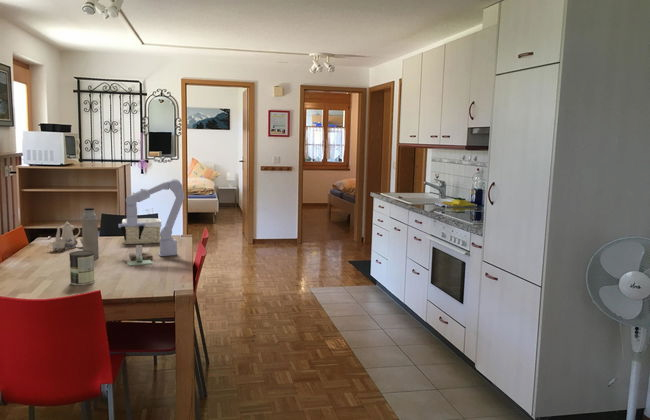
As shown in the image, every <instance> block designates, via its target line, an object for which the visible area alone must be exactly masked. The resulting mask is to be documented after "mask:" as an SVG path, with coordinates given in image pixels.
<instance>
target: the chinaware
mask: <svg viewBox="0 0 650 420" xmlns="http://www.w3.org/2000/svg"><path fill="white" fill-rule="evenodd" d="M55 228H56V229H57V230H56V234H55V240H54V241H51V242H49V244H48V245H47V249H48V250H50V251H51V250H52V251H55V252H57V251H59V252H62V251H61V250H63V248H65V250H66V249H67V250H69V248H70V249H75V248H76V246H77V245H78V240H77V239H79V240H80V243H81V245H82V246H83V241H82V238H81V237H80V238H79V235H80V234H81V228H80V227H79V226H77V225H73V224H71V223H69V221H67V220H66V222H65V223H64V224H62V225H61V229H60V227H59V226H56V227H55ZM75 228H78V233H77V234H75V235H74V233H73V230H75ZM61 230H62V234H61ZM49 246H51V248H49Z"/></svg>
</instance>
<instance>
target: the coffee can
mask: <svg viewBox="0 0 650 420" xmlns="http://www.w3.org/2000/svg"><path fill="white" fill-rule="evenodd" d="M68 255H69V270H70V271H69V272H70V273H69V275H70V276H69V278H70V284H71V285H73V286H86V285H91V284H94V283H95V261H94V260H95V259H94V252H93V251H87V250H84V251H83V250H75V251H72V252H71V251H70V253H69V254H68Z"/></svg>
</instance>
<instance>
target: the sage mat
mask: <svg viewBox="0 0 650 420" xmlns="http://www.w3.org/2000/svg"><path fill="white" fill-rule="evenodd" d="M126 263H127V265H128V267H132V266H134V267H135V266H145V265H153V262H152V260H143V262H140V263H137V262H136V261H131V260H128V261H127V260H126Z"/></svg>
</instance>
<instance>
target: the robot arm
mask: <svg viewBox="0 0 650 420" xmlns="http://www.w3.org/2000/svg"><path fill="white" fill-rule="evenodd" d="M163 190H165V191H166V190H167V191H168V190H170V191H171V192H172V193H173V195H174V196H175V199H174V202H173V204H172V207H171V209H170V212H169V215H168V217H167V220H166V222H165V224H164V227H162V228H161V230H160V243H159V252H158V255H159V256H160V257H167V256H177V255H178V244H177V243H178V242H177V239H176V238H173V237H172V234H173V228H174V226H175V223H176V220H177V218H178V215H179V212H180V210H181V208H182V205H183V202H184V199H185V195H186V194H185V192H184V188H183V185H182V183H181V182H180V180H178V179H175V178H174V179H171V180H167V181H164V182H162V183H159V184H158V185H155V186H153V187H151V188H148V189H147V188H141V189H139V191H137V192H132V194H129V195H128V196H127V197H126V198H125V202H126V209H125V210H126V219H127V223H124V224H122V223H118V228H119V229H120V230H121V232H122V234H123V240H124V239H125V240H126V228H125V227H139V239H141V234H142V231H143V229H144V227H145V226H146V223H137V219H138V207H137V206H138V205H137V203H140V202H144V201H145V200H147V199H150V198H151V195H153V194H155V193H158V192H161V191H163Z"/></svg>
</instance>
